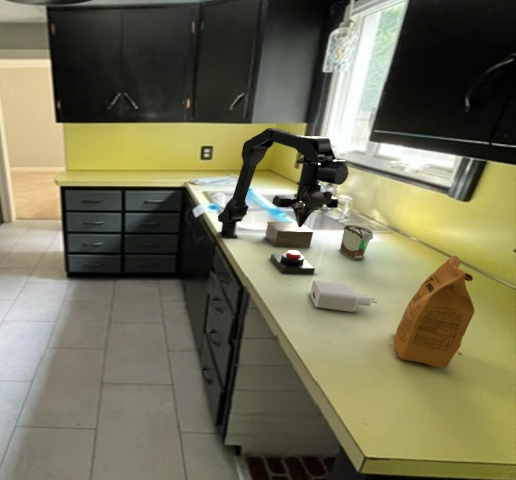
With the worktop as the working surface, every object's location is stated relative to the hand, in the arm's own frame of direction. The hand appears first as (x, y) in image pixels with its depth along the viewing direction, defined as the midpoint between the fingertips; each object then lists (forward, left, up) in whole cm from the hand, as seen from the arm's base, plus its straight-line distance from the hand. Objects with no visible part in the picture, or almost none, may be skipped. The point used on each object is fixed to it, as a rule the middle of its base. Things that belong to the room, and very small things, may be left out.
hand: (299, 227), depth 121 cm
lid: (-23, +7, -8) cm, 25 cm away
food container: (-10, +27, -14) cm, 32 cm away
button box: (+2, -1, -14) cm, 14 cm away
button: (+2, -1, -10) cm, 10 cm away
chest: (-23, +7, -14) cm, 27 cm away
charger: (+28, +3, -14) cm, 32 cm away
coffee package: (+49, +9, -14) cm, 52 cm away
